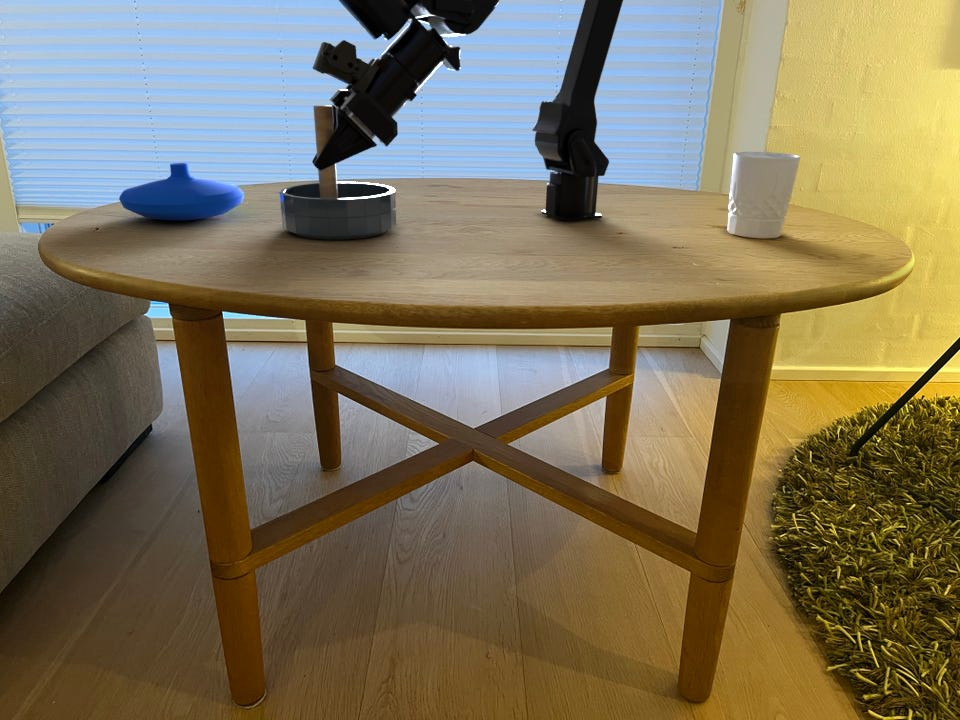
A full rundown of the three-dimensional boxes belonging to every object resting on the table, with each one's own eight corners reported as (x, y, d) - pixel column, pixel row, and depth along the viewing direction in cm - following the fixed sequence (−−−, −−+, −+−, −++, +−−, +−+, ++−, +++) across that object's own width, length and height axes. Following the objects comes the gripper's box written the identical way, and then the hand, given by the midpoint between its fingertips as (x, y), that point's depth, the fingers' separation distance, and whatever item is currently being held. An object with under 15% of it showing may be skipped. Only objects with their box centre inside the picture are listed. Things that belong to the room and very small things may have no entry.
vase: (95, 224, 90) (84, 168, 87) (171, 204, 104) (163, 155, 102) (204, 231, 87) (197, 173, 84) (267, 210, 101) (262, 160, 99)
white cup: (787, 231, 93) (801, 154, 90) (784, 242, 87) (799, 159, 83) (726, 225, 96) (737, 150, 93) (718, 236, 90) (730, 155, 86)
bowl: (375, 216, 99) (373, 180, 97) (412, 235, 87) (411, 195, 85) (273, 223, 92) (269, 185, 91) (298, 245, 81) (295, 202, 79)
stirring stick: (328, 217, 91) (320, 104, 86) (358, 221, 89) (352, 105, 84) (302, 224, 87) (292, 105, 82) (333, 228, 85) (325, 107, 80)
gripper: (342, 21, 89) (261, 113, 90) (363, 10, 72) (263, 122, 73) (405, 88, 94) (327, 174, 95) (437, 91, 77) (343, 196, 78)
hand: (315, 166), depth 85 cm, fingers closed on stirring stick, 2 cm apart
